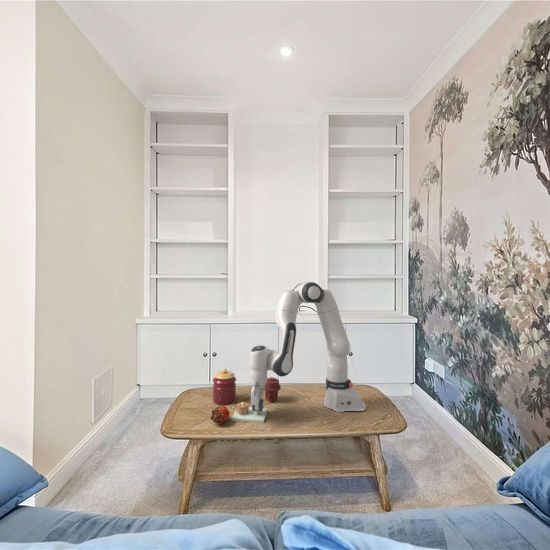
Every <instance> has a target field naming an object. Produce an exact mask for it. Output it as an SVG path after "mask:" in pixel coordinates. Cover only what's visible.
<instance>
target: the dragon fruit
mask: <svg viewBox="0 0 550 550" xmlns="http://www.w3.org/2000/svg"><path fill="white" fill-rule="evenodd" d="M229 417H230V411H229V409H228V408H227V406H225V405H219V406H216V407H215V408H214V410H212V411H211V417H210V420H212V421H213V423H215V424H218V425H221V424H223V423H227V422H228V419H229Z"/></svg>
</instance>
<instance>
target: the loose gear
mask: <svg viewBox="0 0 550 550" xmlns="http://www.w3.org/2000/svg"><path fill="white" fill-rule="evenodd" d="M264 399H265V398H264ZM264 399H263V398H262V399H260V402H259V409H258V410H256V409H255V405H251V407H252V411H255V412H262V411H263V408H264V407H265V406H264V404H265V403H264Z"/></svg>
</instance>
